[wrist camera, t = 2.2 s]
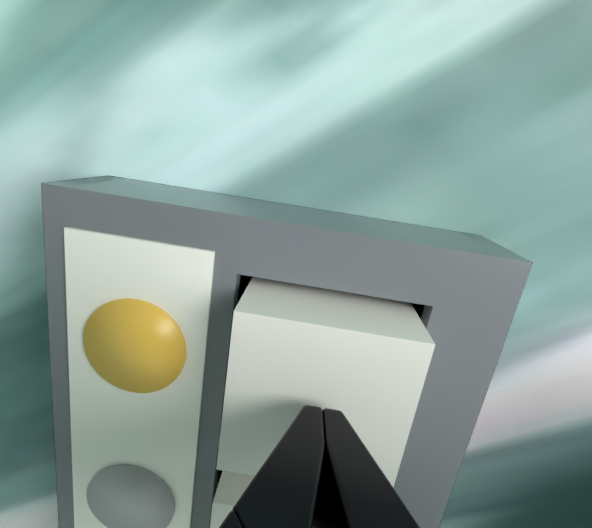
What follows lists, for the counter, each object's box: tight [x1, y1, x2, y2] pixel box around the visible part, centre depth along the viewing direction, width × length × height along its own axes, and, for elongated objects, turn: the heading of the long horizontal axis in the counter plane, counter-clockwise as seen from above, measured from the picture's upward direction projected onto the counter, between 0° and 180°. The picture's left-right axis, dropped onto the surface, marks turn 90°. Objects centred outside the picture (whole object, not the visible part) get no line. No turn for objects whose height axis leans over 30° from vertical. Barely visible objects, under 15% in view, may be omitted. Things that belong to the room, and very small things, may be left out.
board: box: [41, 176, 533, 528], centre depth 13 cm, size 12×19×3 cm, turn 171°
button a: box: [216, 277, 435, 487], centre depth 10 cm, size 4×4×2 cm
